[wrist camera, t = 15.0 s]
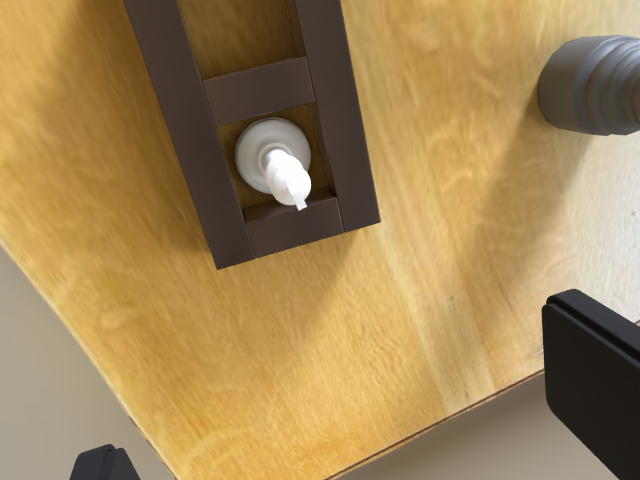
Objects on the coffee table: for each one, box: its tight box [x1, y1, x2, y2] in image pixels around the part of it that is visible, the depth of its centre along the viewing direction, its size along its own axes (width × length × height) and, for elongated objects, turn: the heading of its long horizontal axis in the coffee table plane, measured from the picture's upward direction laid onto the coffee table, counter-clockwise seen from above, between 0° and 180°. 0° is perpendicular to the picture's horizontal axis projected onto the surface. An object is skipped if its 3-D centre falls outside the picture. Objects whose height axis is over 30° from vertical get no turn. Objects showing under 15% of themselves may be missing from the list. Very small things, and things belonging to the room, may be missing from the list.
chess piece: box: [235, 117, 311, 210], centre depth 26 cm, size 5×5×10 cm
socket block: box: [123, 0, 381, 270], centre depth 28 cm, size 11×19×3 cm, turn 13°
